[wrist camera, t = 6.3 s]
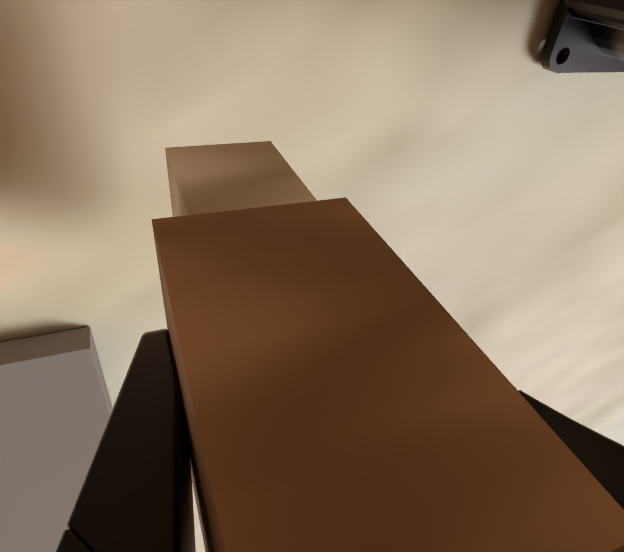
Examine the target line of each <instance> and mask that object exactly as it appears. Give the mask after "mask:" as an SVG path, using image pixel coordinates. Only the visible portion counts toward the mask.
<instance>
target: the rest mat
mask: <svg viewBox="0 0 624 552" xmlns="http://www.w3.org/2000/svg"><path fill="white" fill-rule="evenodd" d="M112 410H113V408H112V404H111V401H110V397H109V394H108V390H107V386H106V383H105V379H104V376H103V372H102V369H101V365H100V361H99V358H98V354H97V351H96V347H95V344H94V340H93V336H92V333H91V329H90V327H85V328H79V329H73V330H68V331H62V332H56V333H50V334H45V335H39V336H33V337H28V338H22V339H16V340H11V341H5V342H0V552H56V549H57V547H58V544H59V542H60V539H61V537H62V534H63V532H64V531H65V530H66V529H68V527H67V523H68V520H69V518H70V515H71V513H72V510H73V508H74V505H75V503H76V500H77V498H78V495H79V492H80V490H81V487H82V485H83V482H84V480H85V477H86V475H87V472H88V470H89V467H90V465H91V462H92V460H93V457H94V455H95V452H96V450H97V447H98V445H99V442H100V440H101V437H102V435H103V432H104V430H105V427H106V425H107V422H108V420H109V417H110V415H111V412H112Z"/></svg>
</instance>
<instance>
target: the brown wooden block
mask: <svg viewBox="0 0 624 552" xmlns="http://www.w3.org/2000/svg"><path fill="white" fill-rule="evenodd" d="M165 151H166V160H167V168H168V177H169V186H170V195H171V204H172V213H173V217H169V218H160V219H152V225H153V232H154V238H155V245H156V252H157V259H158V266H159V273H160V280H161V286H162V293H163V300H164V307H165V314H166V321H167V328H168V331H169V336H170V340H171V345H172V349H173V354H174V358H175V363H176V368H177V372H178V377H179V382H180V387H181V394H182V402H183V409H184V416H185V423H186V431H187V438H188V445H189V453H190V461H191V477H192V483H193V488H194V494H195V499H196V504H197V509H198V514H199V520H200V525H201V530H202V535H203V540H204V546H205V551H206V552H624V510H623V509H622V508H621V506H620V505H619V504H618V503H617V502H616V501H615V500H614V499H613V497H612V496H611V495H610V494H609V493H608V492H607V491H606V490H605V488H604V487H603V486H602V485H601V484H600V483H599V482H598V481H597V479H596V478H595V477H594V476H593V475H592V474H591V473H590V472H589V470H588V469H587V468H586V467H585V466H584V465H583V464H582V463H581V461H580V460H579V459H578V458H577V457H576V456H575V455H574V454H573V452H572V451H571V450H570V449H569V448H568V447H567V446H566V445H565V443H564V442H563V441H562V440H561V439H560V438H559V437H558V436H557V434H556V433H555V432H554V431H553V430H552V429H551V428H550V427H549V425H548V424H547V423H546V422H545V421H544V420H543V419H542V418H541V416H540V415H539V414H538V413H537V412H536V411H535V410H534V409H533V407H532V406H531V405H530V404H529V403H528V402H527V401H526V400H525V398H524V397H523V396H522V395H521V394H520V393H519V392H518V391H517V390H516V388H515V387H514V386H513V385H512V384H511V383H510V382H509V381H508V379H507V378H506V377H505V376H504V375H503V374H502V373H501V372H500V370H499V369H498V368H497V367H496V366H495V365H494V364H493V363H492V361H491V360H490V359H489V358H488V357H487V356H486V355H485V354H484V352H483V351H482V350H481V349H480V348H479V347H478V346H477V345H476V343H475V342H474V341H473V340H472V339H471V338H470V337H469V336H468V334H467V333H466V332H465V331H464V330H463V329H462V328H461V327H460V325H459V324H458V323H457V322H456V321H455V320H454V319H453V318H452V316H451V315H450V314H449V313H448V312H447V311H446V310H445V309H444V307H443V306H442V305H441V304H440V303H439V302H438V301H437V300H436V298H435V297H434V296H433V295H432V294H431V293H430V292H429V291H428V289H427V288H426V287H425V286H424V285H423V284H422V283H421V282H420V280H419V279H418V278H417V277H416V276H415V275H414V274H413V273H412V271H411V270H410V269H409V268H408V267H407V266H406V265H405V264H404V262H403V261H402V260H401V259H400V258H399V257H398V256H397V255H396V253H395V252H394V251H393V250H392V249H391V248H390V247H389V246H388V244H387V243H386V242H385V241H384V240H383V239H382V238H381V237H380V235H379V234H378V233H377V232H376V231H375V230H374V229H373V228H372V226H371V225H370V224H369V223H368V222H367V221H366V220H365V219H364V217H363V216H362V215H361V214H360V213H359V212H358V211H357V210H356V209H355V207H354V206H353V205H352V204H351V203H350V202H349V201H348V200H347V198H337V199H329V200H320V201H317V200H316V199H315V197H314V196H313V195H312V194H311V192H310V191H309V190H308V189H307V187H306V186H305V185H304V183H303V182H302V181H301V180H300V178H299V177H298V176H297V175H296V173H295V172H294V171H293V169H292V168H291V167H290V166H289V164H288V163H287V162H286V161H285V159H284V158H283V157H282V155H281V154H280V153H279V152H278V150H277V149H276V148H275V147H274V145H273V144H272V143H271V141H265V142H250V143H234V144H219V145H203V146H188V147H172V148H165Z"/></svg>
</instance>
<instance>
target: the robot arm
mask: <svg viewBox="0 0 624 552" xmlns="http://www.w3.org/2000/svg"><path fill="white" fill-rule="evenodd" d="M559 51H560V53H559ZM558 53H559V55H558V57H557V54H558ZM556 57H557V58H556ZM540 61H541V65H542V67H543V68H544V69H547V70H550V71H552V72H556V73H574V72H624V0H560V2H559V5H558V8H557V11H556V13H555V16H554V19H553V22H552V25H551V28H550V31H549V33H548V36H547V39H546V42H545V45H544V48H543V51H542V54H541V58H540ZM516 390H517V389H516ZM518 392H519V393H520V394H521V395H522V396H523V397H524V398H525V400H526V401H527V402H528V403H529V404H530V405H531V406H532V407H533V409H534V410H535V411H536V412H537V413H538V414H539V415H540V416H541V418H542V419H543V420H544V421H545V422H546V423H547V424H548V425H549V427H550V428H551V429H552V430H553V431H554V432H555V433H556V434H557V436H558V437H559V438H560V439H561V440H562V441H563V442H564V443H565V445H566V446H567V447H568V448H569V449H570V450H571V451H572V452H573V454H574V455H575V456H576V457H577V458H578V459H579V460H580V461H581V463H582V464H583V465H584V466H585V467H586V468H587V469H588V470H589V472H590V473H591V474H592V475H593V476H594V477H595V478H596V479H597V481H598V482H599V483H600V484H601V485H602V486H603V487H604V488H605V490H606V491H607V492H608V493H609V494H610V495H611V496H612V497H613V499H614V500H615V501H616V502H617V503H618V504H619V505H620V506H621V508H622V509H623V510H624V446H623V445H621V444H619V443H617V442H615V441H613V440H611V439H609V438H607V437H605V436H603V435H601V434H599V433H597V432H595V431H593V430H591V429H590V428H588V427H586V426H584V425H582V424H580V423H578V422H576V421H574V420H572V419H570V418H568V417H567V416H565V415H563V414H561V413H559V412H558V411H556V410H554V409H552V408H551V407H549V406H547V405H545V404H543V403H542V402H540V401H538V400H536V399H535V398H533V397H531V396H530V395H528V394H526V393H524V392H523V391H521V390H518ZM67 527H68V529H66V530H65V531H64V532H63V534H62V537H61V539H60V542H59V544H58V547H57V549H56V552H196V551H195V532H194V514H193V495H192V477H191V461H190V453H189V445H188V438H187V431H186V423H185V416H184V409H183V402H182V394H181V387H180V382H179V377H178V372H177V368H176V363H175V358H174V354H173V349H172V345H171V340H170V336H169V331H168V330H167V329H161V330H156V331H151V332H146V333H144V334H143V335H142V337H141V339H140V342H139V344H138V347H137V349H136V352H135V354H134V357H133V359H132V362H131V364H130V367H129V369H128V372H127V375H126V377H125V380H124V382H123V385H122V387H121V390H120V392H119V395H118V397H117V400H116V402H115V405H114V407H113V410H112V412H111V415H110V417H109V420H108V422H107V425H106V427H105V430H104V432H103V435H102V437H101V440H100V442H99V445H98V447H97V450H96V452H95V455H94V457H93V460H92V462H91V465H90V467H89V470H88V472H87V475H86V477H85V480H84V482H83V485H82V487H81V490H80V492H79V495H78V498H77V500H76V503H75V505H74V508H73V510H72V513H71V515H70V518H69V520H68V523H67Z"/></svg>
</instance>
